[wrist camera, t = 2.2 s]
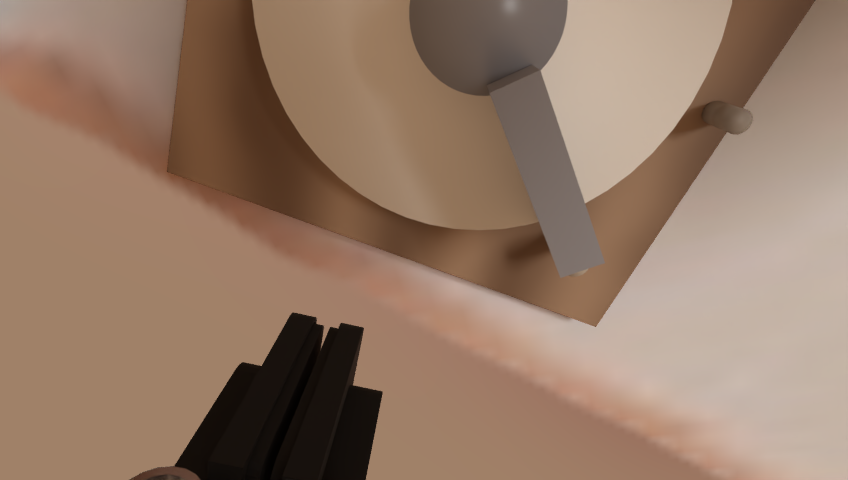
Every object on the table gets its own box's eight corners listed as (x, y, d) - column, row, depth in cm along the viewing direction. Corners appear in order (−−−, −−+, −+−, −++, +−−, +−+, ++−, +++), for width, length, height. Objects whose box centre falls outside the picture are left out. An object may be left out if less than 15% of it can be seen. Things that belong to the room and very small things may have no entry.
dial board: (925, -207, 16) (1146, -313, 11) (589, 311, 27) (620, 383, 21) (277, -536, 14) (168, -861, 9) (183, 163, 25) (106, 203, 19)
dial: (177, -112, 18) (38, -175, 12) (655, -441, 13) (803, -790, 8) (385, 266, 24) (361, 344, 19) (752, 128, 20) (872, 173, 14)
